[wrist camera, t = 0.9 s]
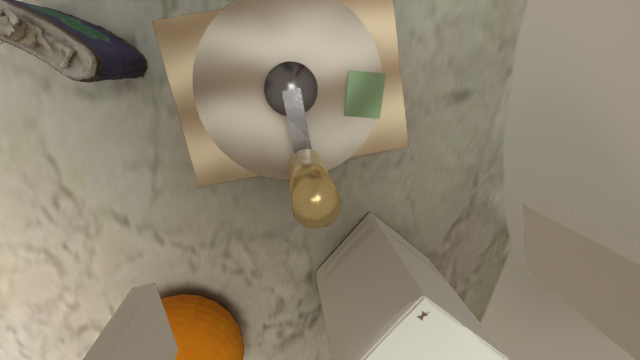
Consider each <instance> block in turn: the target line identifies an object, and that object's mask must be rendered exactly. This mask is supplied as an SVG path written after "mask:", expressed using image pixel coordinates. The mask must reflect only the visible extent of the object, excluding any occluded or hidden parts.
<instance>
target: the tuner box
mask: <svg viewBox="0 0 640 360" xmlns="http://www.w3.org/2000/svg"><path fill="white" fill-rule="evenodd" d="M152 23H153V26H154V30H155V33H156V37H157V41H158V44H159V48H160V51H161V55H162V58H163V62H164V65H165V69H166V72H167V76H168V79H169V83H170V87H171V90H172V94H173V97H174V101H175V104H176V108H177V111H178V115H179V118H180V122H181V125H182V129H183V133H184V136H185V140H186V143H187V147H188V150H189V154H190V157H191V161H192V164H193V168H194V171H195V175H196V179H197V182H198V186H199V187H204V186H209V185H214V184H219V183H224V182H229V181H234V180H239V179H244V178H249V177H255V176H260V175H262V176H266V177H270V178H275V179H283V180H289V172H288V163H289V160H290V158H291V156H292V155H293V154H294V150H293V145H292V140H291V135H290V130H289V125H288V120H287V116H284V115H281V114H279V113H277V112H276V111H274V110H273V109H272V108H271V107H270V106H269V104H268V102H267V100H266V98H265V95H264V83H265V79H266V77H267V75H268V73H269V72H270V70H271V69H272V68H274V67H275V66H276V65H278V64H280V63H283V62H288V61H293V62H298V63H301V64H303V65H305V66H306V67H307V68H309V69H310V70H311V71H312V73H313V74H314V76H315V78H316V81H317V85H318V94H317V98H316V101H315V103H314V104H313V106H312V107H311V108H310V109H309V110H308V111H307V112H306V113H305V116H306V121H307V127H308V132H309V137H310V143H311V148H312V150H313V151H315V152H317V153H318V154H319V155H320V157H321V158H322V160H323V162H324V164H325V166H326V168H327V170H328V171H330V170H332V169H334V168H335V167H337V166H339V165H340V164H342V163H343V162H345V161H346V160H347V159H349V158H351V157H357V156H362V155H367V154H372V153H377V152H382V151H387V150H392V149H397V148H402V147H408V146H409V145H408V136H407V126H406V117H405V108H404V98H403V89H402V80H401V71H400V61H399V52H398V43H397V33H396V24H395V15H394V6H393V0H233V1H232V2H230V3H229V4H228V5H227V6H225V7H224V8H223V9H218V10H212V11H206V12H201V13H195V14H189V15H183V16H178V17H172V18H166V19H160V20H154V21H152Z"/></svg>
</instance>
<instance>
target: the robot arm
mask: <svg viewBox="0 0 640 360" xmlns="http://www.w3.org/2000/svg"><path fill="white" fill-rule="evenodd" d="M523 212H524V246H525V247H524V248H525V272H526V273H528V274H529V275H530V276H531V277H533V278H534V279H535V280H536V281H538V282H539V283H540V284H541V285H543V286H544V287H545V288H547V289H548V290H549V291H550V292H551V293H553V294H554V295H555V296H557V297H558V298H559V299H560V300H562V301H563V302H564V303H565V304H567V305H568V306H569V307H570V308H572V309H573V310H574V311H575V312H577V313H578V314H579V315H580V316H582V317H583V318H584V319H585V320H587V321H588V322H589V323H590V324H592V325H593V326H594V327H596V328H597V329H598V330H599V331H600V332H602V333H603V334H604V335H605V336H607V337H608V338H609V339H611V340H612V341H613V342H614V343H616V344H617V345H618V346H619V347H621V348H622V349H623V350H624V351H626V352H627V353H628V354H629V355H631V356H632V357H633V358H634V359H636V360H640V245H639V244H637V243H635V242H633V241H631V240H629V239H626V238H624V237H622V236H620V235H618V234H616V233H613V232H612V231H609V230H607V229H605V228H603V227H601V226H599V225H597V224H594V223H592V222H590V221H588V220H586V219H584V218H582V217H580V216H577V215H575V214H573V213H571V212H569V211H567V210H565V209H562V208H560V207H558V206H556V205H554V204H552V203H550V202H548V201H545V200H540V201H535V202H531V203H526V204H523ZM177 352H178V347H177V344H176V341H175V338H174V336H173V333H172V330H171V327H170V324H169V321H168V318H167V315H166V313H165V310H164V307H163V304H162V301H161V298H160V295H159V293H158V290H157V287H156V284H155V283H153V284H148V285H144V286H139V287H134V288H132V289H131V291H130V292H129V294H128V295H127V297H126V298H125V299H124V301H123V302H122V304H121V305H120V307H119V308H118V310H117V311H116V312H115V314H114V315H113V317H112V318H111V320H110V321H109V323H108V324H107V325H106V327H105V328H104V330H103V331H102V333H101V334H100V336H99V337H98V338H97V340H96V341H95V343H94V344H93V346H92V347H91V349H90V350H89V351H88V353H87V354H86V356H85V357H84V359H83V360H175V357H176V354H177Z"/></svg>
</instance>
